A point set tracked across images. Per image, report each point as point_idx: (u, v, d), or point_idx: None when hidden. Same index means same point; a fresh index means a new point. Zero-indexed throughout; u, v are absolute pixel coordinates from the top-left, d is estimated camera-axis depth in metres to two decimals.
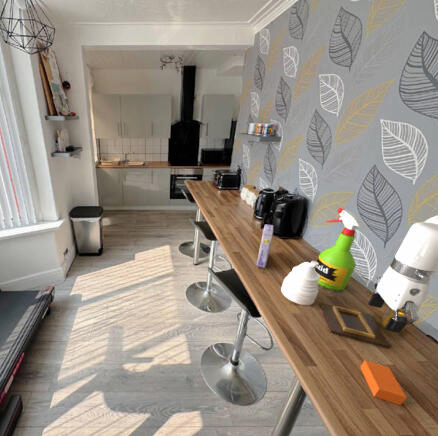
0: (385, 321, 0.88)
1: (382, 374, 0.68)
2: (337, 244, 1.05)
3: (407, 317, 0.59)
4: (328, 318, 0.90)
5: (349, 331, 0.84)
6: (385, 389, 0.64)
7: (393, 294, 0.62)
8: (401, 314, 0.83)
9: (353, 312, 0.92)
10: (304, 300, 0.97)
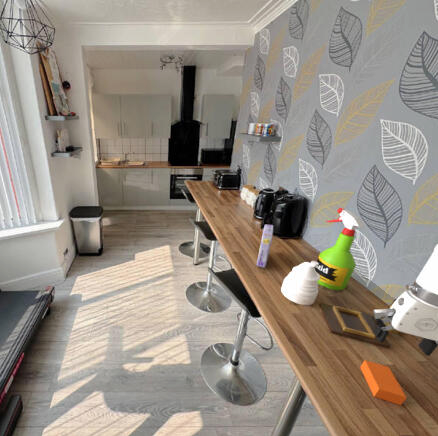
0: None
1: (382, 374, 0.68)
2: (337, 244, 1.05)
3: None
4: (328, 318, 0.90)
5: (349, 331, 0.84)
6: (385, 389, 0.64)
7: None
8: None
9: (353, 312, 0.92)
10: (304, 300, 0.97)
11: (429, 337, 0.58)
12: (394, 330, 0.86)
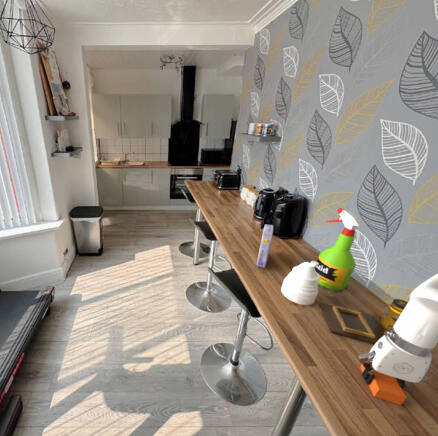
0: (384, 321, 0.88)
1: (382, 374, 0.68)
2: (337, 244, 1.05)
3: None
4: (328, 318, 0.90)
5: (349, 331, 0.84)
6: (385, 389, 0.64)
7: None
8: (400, 314, 0.83)
9: (353, 312, 0.92)
10: (304, 300, 0.97)
11: (406, 379, 0.63)
12: None
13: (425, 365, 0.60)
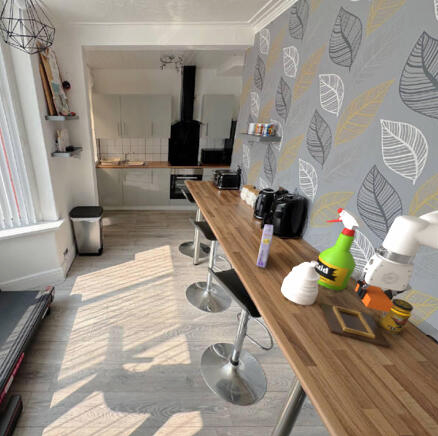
0: (384, 321, 0.88)
1: (373, 290, 0.80)
2: (337, 244, 1.05)
3: None
4: (328, 318, 0.90)
5: (349, 331, 0.84)
6: (375, 299, 0.76)
7: None
8: (399, 313, 0.83)
9: (353, 312, 0.92)
10: (304, 300, 0.97)
11: (393, 288, 0.74)
12: (393, 330, 0.86)
13: (408, 273, 0.71)
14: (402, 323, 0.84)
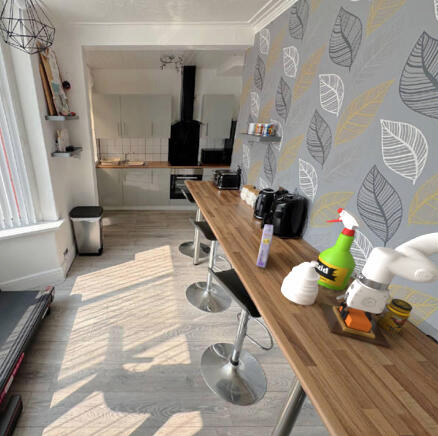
0: (383, 320, 0.88)
1: (355, 312, 0.88)
2: (337, 244, 1.05)
3: None
4: (328, 318, 0.90)
5: (349, 331, 0.84)
6: (356, 320, 0.84)
7: None
8: (399, 313, 0.83)
9: None
10: (304, 300, 0.97)
11: (371, 311, 0.82)
12: (392, 329, 0.86)
13: (384, 298, 0.79)
14: (401, 323, 0.84)
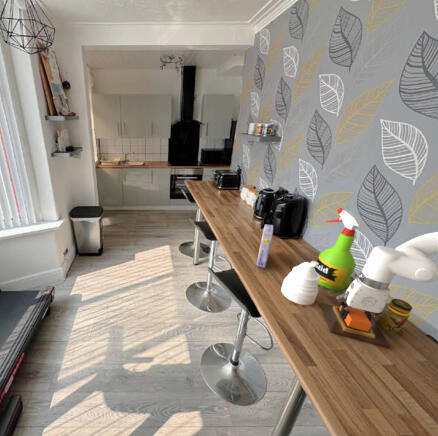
0: (382, 320, 0.88)
1: (355, 311, 0.88)
2: (337, 244, 1.05)
3: None
4: (328, 318, 0.90)
5: (349, 331, 0.84)
6: (355, 320, 0.84)
7: None
8: (398, 313, 0.83)
9: None
10: (304, 300, 0.97)
11: (371, 310, 0.82)
12: (392, 329, 0.86)
13: (384, 297, 0.79)
14: (401, 323, 0.84)
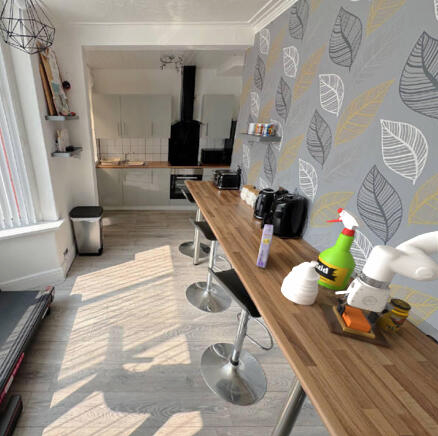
0: (382, 320, 0.88)
1: (354, 313, 0.88)
2: (337, 244, 1.05)
3: None
4: (328, 318, 0.90)
5: (349, 331, 0.84)
6: (355, 322, 0.84)
7: None
8: (397, 313, 0.84)
9: None
10: (304, 300, 0.97)
11: (372, 309, 0.82)
12: (391, 329, 0.86)
13: (385, 296, 0.79)
14: (400, 323, 0.84)
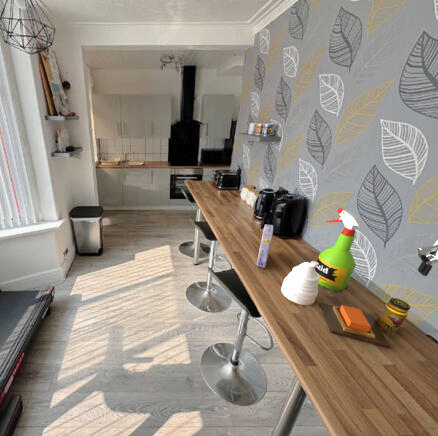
0: (381, 320, 0.88)
1: (354, 313, 0.88)
2: (337, 244, 1.05)
3: None
4: (328, 318, 0.90)
5: (349, 331, 0.84)
6: (355, 322, 0.84)
7: None
8: (397, 312, 0.84)
9: None
10: (304, 300, 0.97)
11: None
12: (390, 329, 0.86)
13: None
14: (399, 323, 0.84)
